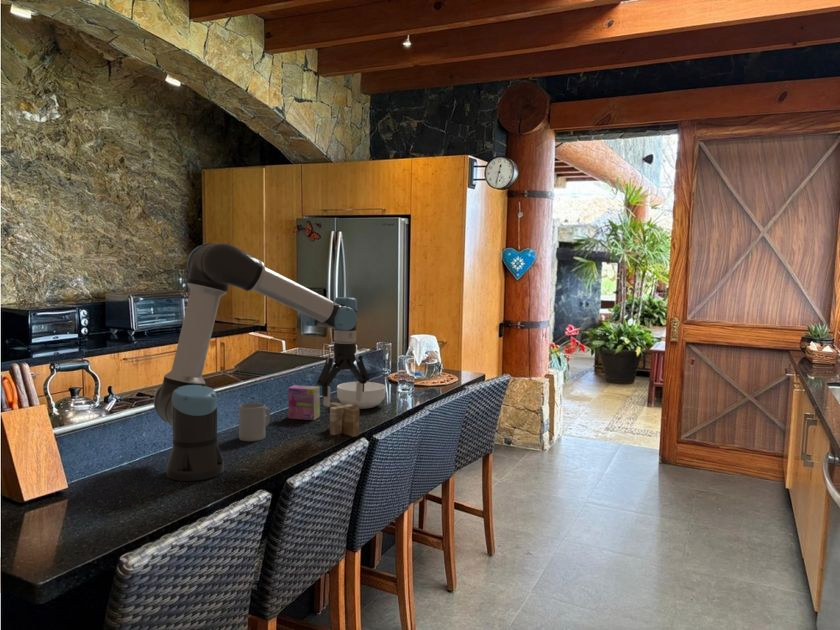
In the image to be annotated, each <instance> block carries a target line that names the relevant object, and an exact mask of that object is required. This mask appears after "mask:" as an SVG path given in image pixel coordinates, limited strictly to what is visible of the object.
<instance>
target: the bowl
mask: <svg viewBox="0 0 840 630" xmlns="http://www.w3.org/2000/svg"><path fill="white" fill-rule="evenodd" d="M357 382H358V381H348V382H343V383H339V384H337V386H336V398H337V399H338V400H339V403H340V404H343V405H349V404H357V405H358V409H359V410H361V409H371V408H375V407H377V406H378V405H379V404H381V403H382V401H383V400H384V399H385V398H386V385H385V384H383V383H380V382H373V381H367V382H366V383H364V392H363V393H362V402H358V401H356V383H357Z"/></svg>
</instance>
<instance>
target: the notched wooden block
mask: <svg viewBox="0 0 840 630" xmlns="http://www.w3.org/2000/svg"><path fill="white" fill-rule="evenodd" d="M343 405H344V404H342V403H341V402H336V401H334V402H330V406H329V409H330V408H331V407H337V406H343ZM341 434H345V435H347V436H350V437H358V436H360V409H356V408H353V407H346V408H344V420H342V433H341Z"/></svg>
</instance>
